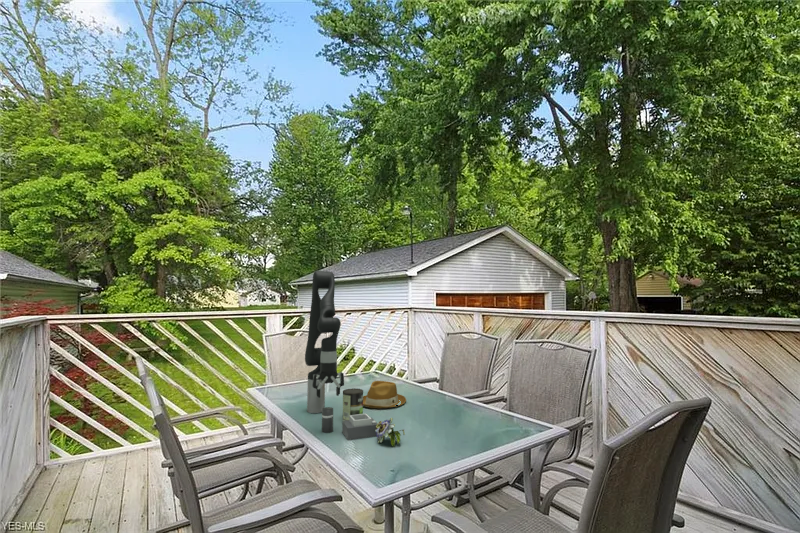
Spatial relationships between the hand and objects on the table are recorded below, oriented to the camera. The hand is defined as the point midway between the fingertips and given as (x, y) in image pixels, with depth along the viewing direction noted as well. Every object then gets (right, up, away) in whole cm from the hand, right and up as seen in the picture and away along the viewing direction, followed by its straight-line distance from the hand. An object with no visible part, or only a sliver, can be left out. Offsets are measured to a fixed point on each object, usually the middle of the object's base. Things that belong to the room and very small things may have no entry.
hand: (328, 396), depth 182 cm
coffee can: (+9, -17, +16) cm, 25 cm away
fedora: (+23, -19, +45) cm, 54 cm away
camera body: (+15, -16, -5) cm, 22 cm away
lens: (0, -16, -1) cm, 16 cm away
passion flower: (+28, -15, -13) cm, 35 cm away
